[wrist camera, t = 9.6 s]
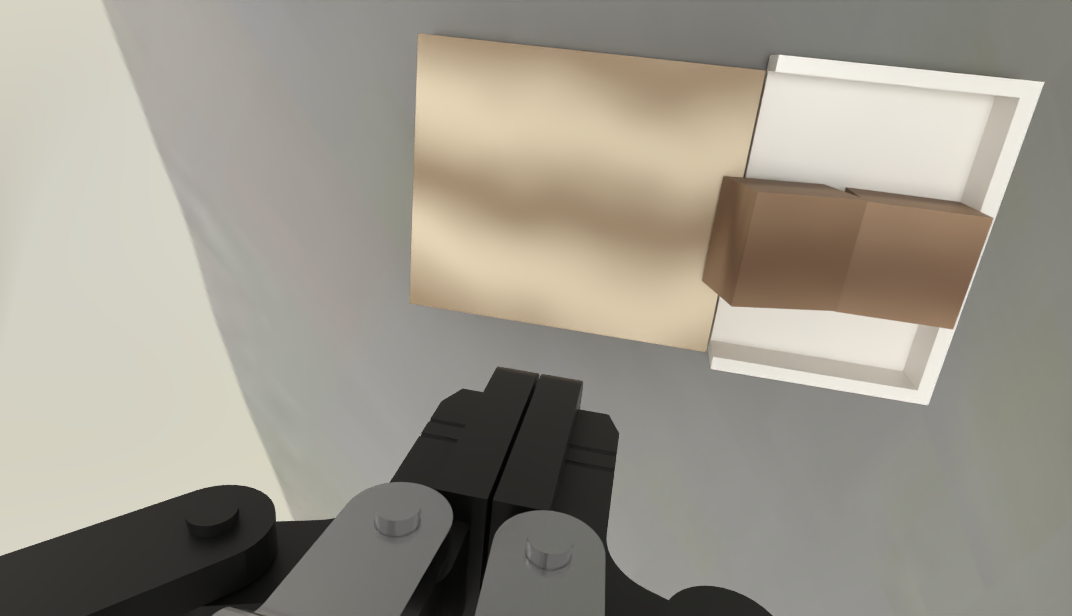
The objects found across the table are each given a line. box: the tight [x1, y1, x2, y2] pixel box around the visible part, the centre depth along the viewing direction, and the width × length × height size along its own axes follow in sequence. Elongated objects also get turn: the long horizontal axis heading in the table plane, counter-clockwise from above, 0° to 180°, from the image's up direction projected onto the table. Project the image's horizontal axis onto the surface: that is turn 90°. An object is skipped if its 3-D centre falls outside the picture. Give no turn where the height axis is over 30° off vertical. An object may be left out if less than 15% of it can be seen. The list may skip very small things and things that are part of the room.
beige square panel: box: [410, 33, 766, 352], centre depth 30 cm, size 12×14×2 cm
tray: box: [708, 55, 1044, 405], centre depth 28 cm, size 13×9×2 cm
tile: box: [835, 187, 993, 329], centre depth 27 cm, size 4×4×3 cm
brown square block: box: [702, 176, 868, 311], centre depth 27 cm, size 4×4×3 cm
